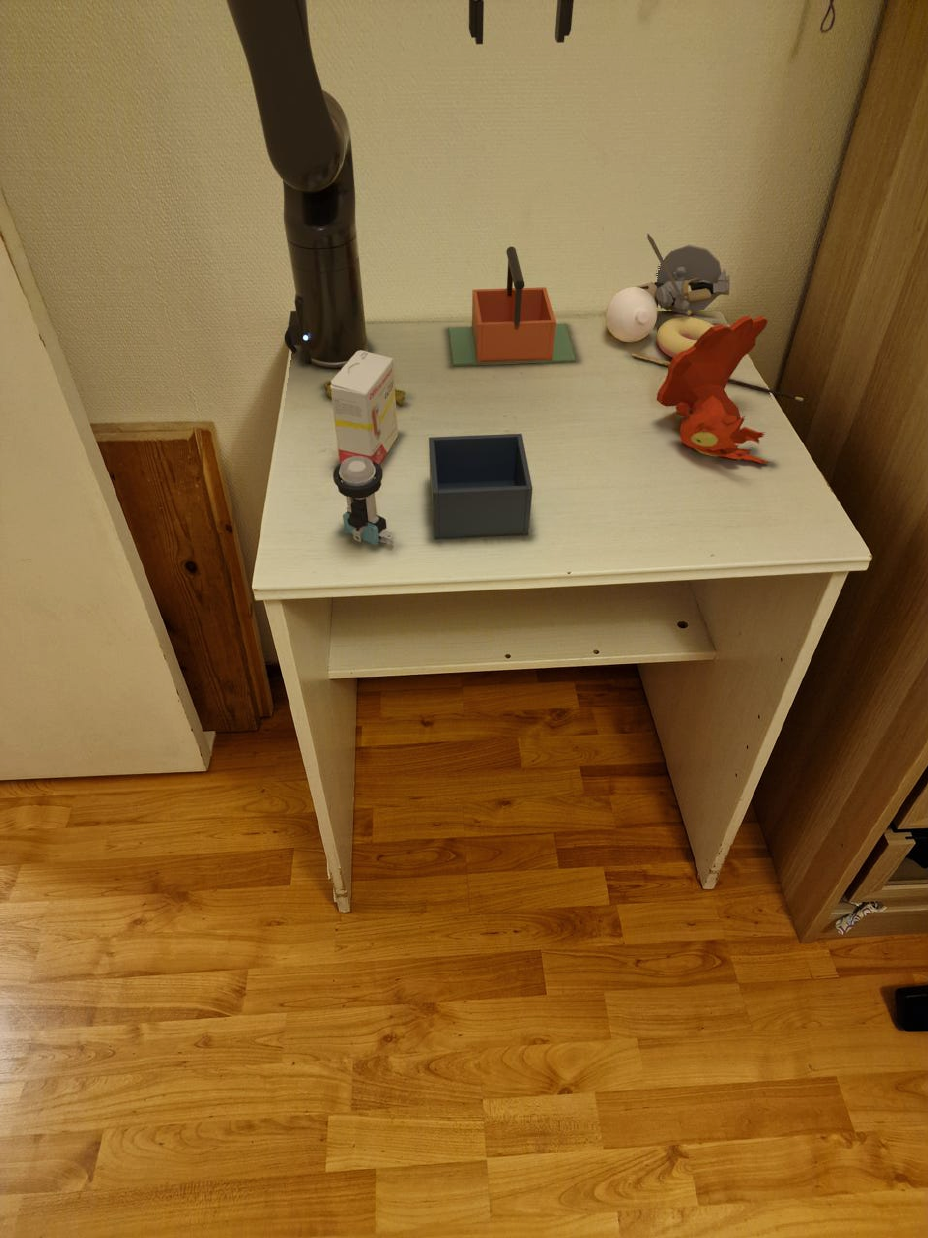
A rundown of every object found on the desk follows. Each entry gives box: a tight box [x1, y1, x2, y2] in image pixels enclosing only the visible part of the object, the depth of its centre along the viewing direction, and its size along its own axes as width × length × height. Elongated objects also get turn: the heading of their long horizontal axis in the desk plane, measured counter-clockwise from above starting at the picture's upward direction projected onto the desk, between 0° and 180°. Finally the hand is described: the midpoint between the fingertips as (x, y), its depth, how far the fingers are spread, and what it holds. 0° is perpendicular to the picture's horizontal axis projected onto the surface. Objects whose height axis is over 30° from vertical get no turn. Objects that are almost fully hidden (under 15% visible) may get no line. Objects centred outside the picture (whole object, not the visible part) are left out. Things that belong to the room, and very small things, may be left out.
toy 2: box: [655, 315, 771, 465], centre depth 101 cm, size 13×18×15 cm
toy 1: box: [635, 233, 730, 316], centre depth 118 cm, size 20×11×15 cm
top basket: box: [471, 246, 557, 363], centre depth 115 cm, size 11×10×12 cm
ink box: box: [330, 350, 399, 466], centre depth 99 cm, size 9×5×12 cm, turn 160°
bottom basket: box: [428, 433, 533, 540], centre depth 94 cm, size 11×10×7 cm
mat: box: [448, 323, 577, 367], centre depth 120 cm, size 18×10×1 cm, turn 94°
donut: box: [656, 316, 715, 359], centre depth 118 cm, size 10×5×9 cm
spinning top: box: [605, 286, 658, 343], centre depth 120 cm, size 8×8×12 cm
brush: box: [631, 353, 804, 402], centre depth 115 cm, size 1×1×25 cm
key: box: [324, 380, 406, 406], centre depth 111 cm, size 12×1×5 cm
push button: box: [332, 456, 395, 546], centre depth 89 cm, size 7×5×10 cm
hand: (518, 41), depth 84 cm, fingers open, 8 cm apart
